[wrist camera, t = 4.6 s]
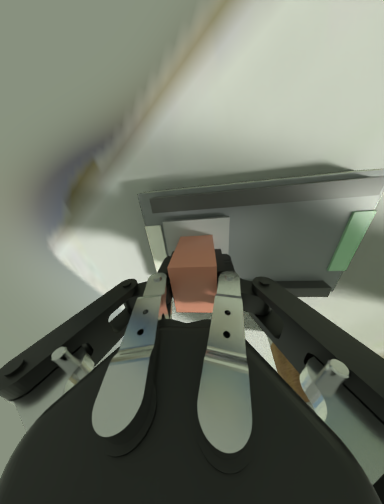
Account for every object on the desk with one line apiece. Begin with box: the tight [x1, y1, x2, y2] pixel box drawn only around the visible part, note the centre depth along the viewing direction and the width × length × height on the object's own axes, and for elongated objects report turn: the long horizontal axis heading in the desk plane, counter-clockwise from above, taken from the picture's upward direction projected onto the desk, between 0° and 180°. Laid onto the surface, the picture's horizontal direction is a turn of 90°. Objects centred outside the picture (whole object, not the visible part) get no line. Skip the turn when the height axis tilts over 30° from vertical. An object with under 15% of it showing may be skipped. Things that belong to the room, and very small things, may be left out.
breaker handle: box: [162, 216, 230, 313], centre depth 12 cm, size 6×7×6 cm
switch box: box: [137, 169, 384, 297], centre depth 15 cm, size 20×12×4 cm, turn 95°
